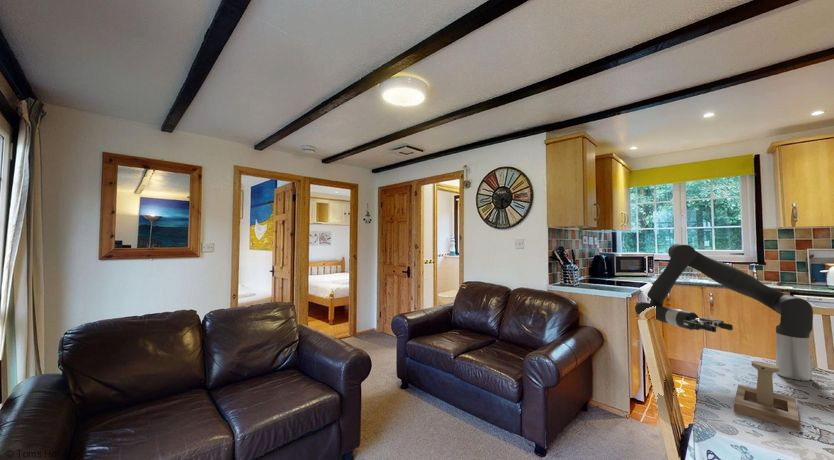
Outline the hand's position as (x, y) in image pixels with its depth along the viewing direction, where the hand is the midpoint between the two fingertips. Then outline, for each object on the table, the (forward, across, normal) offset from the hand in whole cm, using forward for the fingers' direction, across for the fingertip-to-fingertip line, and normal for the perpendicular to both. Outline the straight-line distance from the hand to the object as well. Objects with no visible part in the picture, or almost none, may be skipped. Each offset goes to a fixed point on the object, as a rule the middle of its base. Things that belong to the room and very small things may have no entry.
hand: (723, 328), depth 127 cm
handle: (+16, -7, +22) cm, 28 cm away
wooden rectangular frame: (+16, -7, +22) cm, 28 cm away
